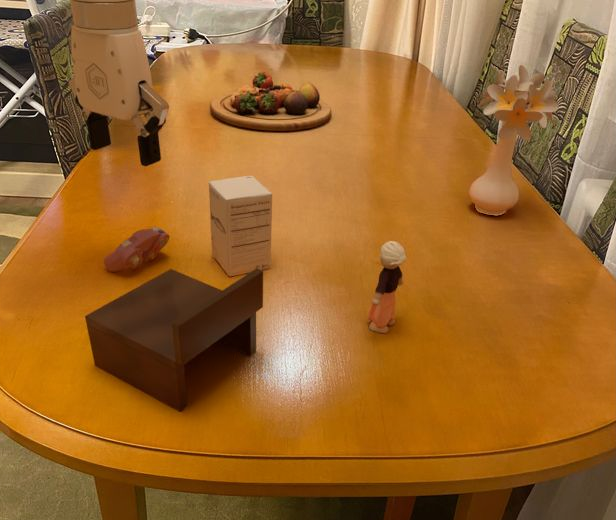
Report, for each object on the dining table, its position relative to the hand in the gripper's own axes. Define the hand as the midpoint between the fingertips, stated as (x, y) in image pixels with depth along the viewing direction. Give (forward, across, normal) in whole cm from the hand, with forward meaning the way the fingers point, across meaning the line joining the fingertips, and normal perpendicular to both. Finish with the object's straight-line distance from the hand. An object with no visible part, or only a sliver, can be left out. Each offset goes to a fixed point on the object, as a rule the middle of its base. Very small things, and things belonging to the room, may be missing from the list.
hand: (125, 155), depth 84 cm
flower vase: (+18, +37, +55) cm, 69 cm away
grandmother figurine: (+17, +38, +8) cm, 43 cm away
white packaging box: (+17, +12, +10) cm, 23 cm away
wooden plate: (+18, -32, +78) cm, 86 cm away
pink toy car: (+17, 0, 0) cm, 17 cm away
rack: (+17, +21, -14) cm, 31 cm away
